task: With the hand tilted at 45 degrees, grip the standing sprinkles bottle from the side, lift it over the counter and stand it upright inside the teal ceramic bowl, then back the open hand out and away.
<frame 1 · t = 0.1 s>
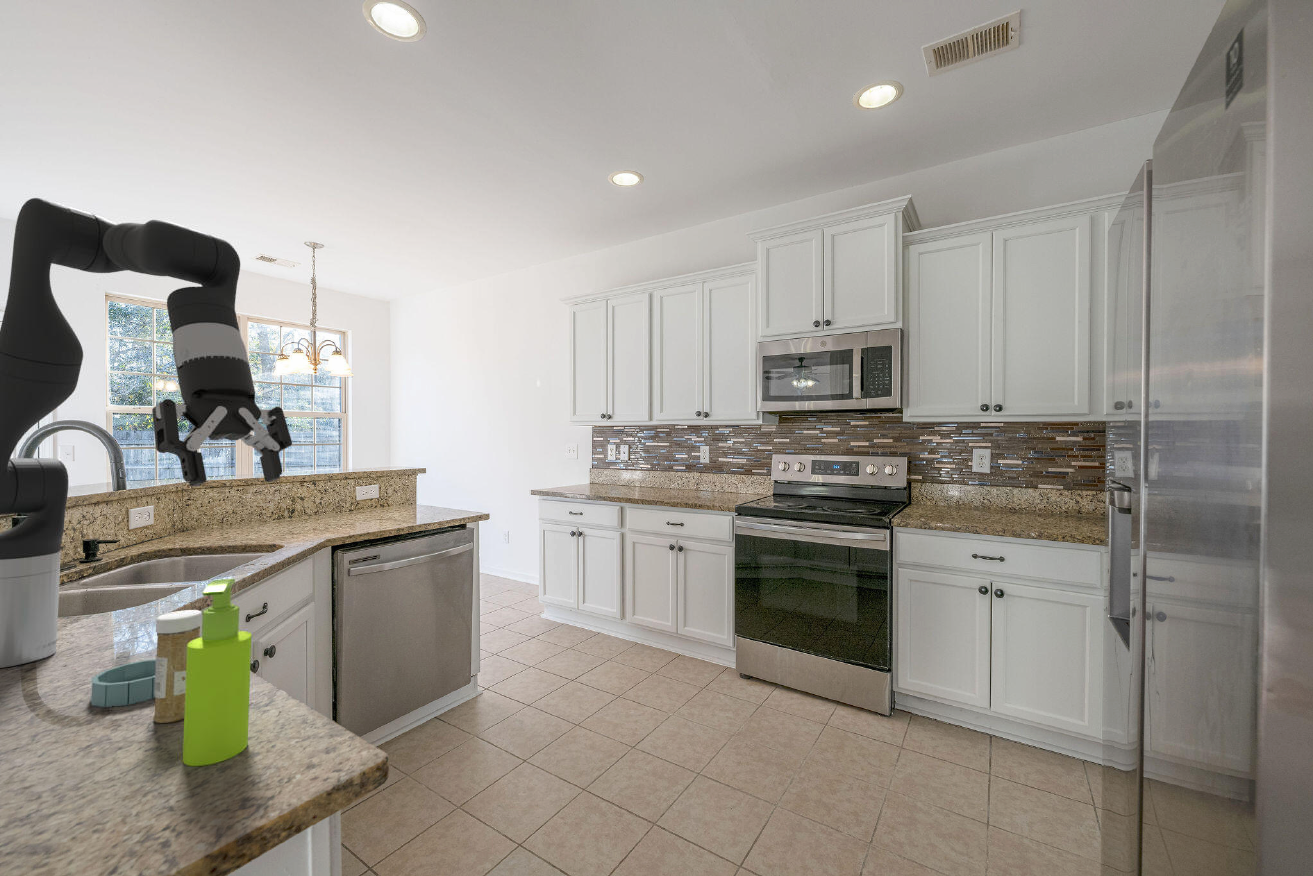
hand: (237, 482, 68), 31 cm above the countertop, tool tilted 20°, fingers open, 8 cm apart
soap dispenser: (214, 755, 62), on the countertop
teal bowl: (137, 691, 78), on the countertop
sprinkles bottle: (175, 717, 71), on the countertop
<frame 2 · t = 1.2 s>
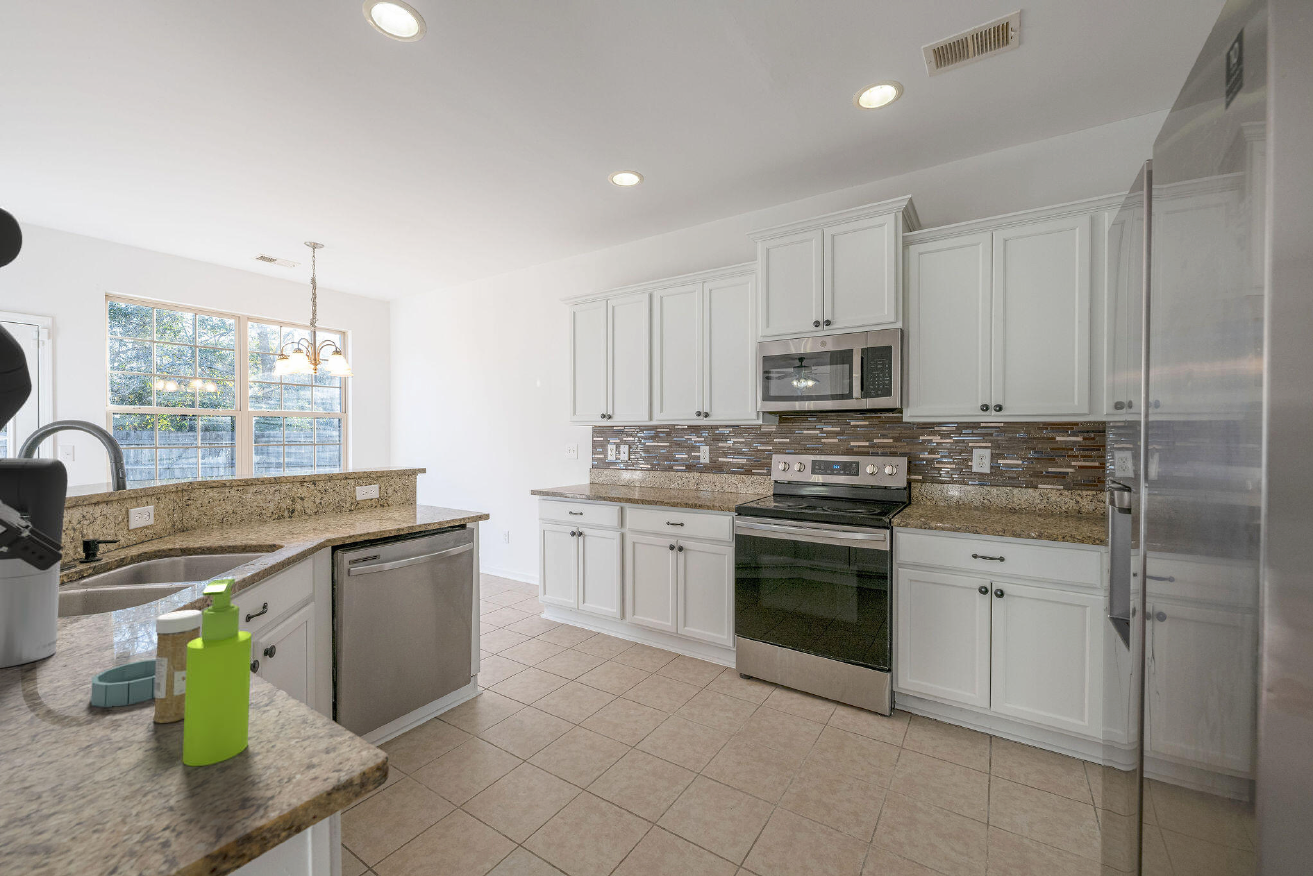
hand: (54, 558, 63), 22 cm above the countertop, tool tilted 45°, fingers open, 8 cm apart
nothing on the countertop moved.
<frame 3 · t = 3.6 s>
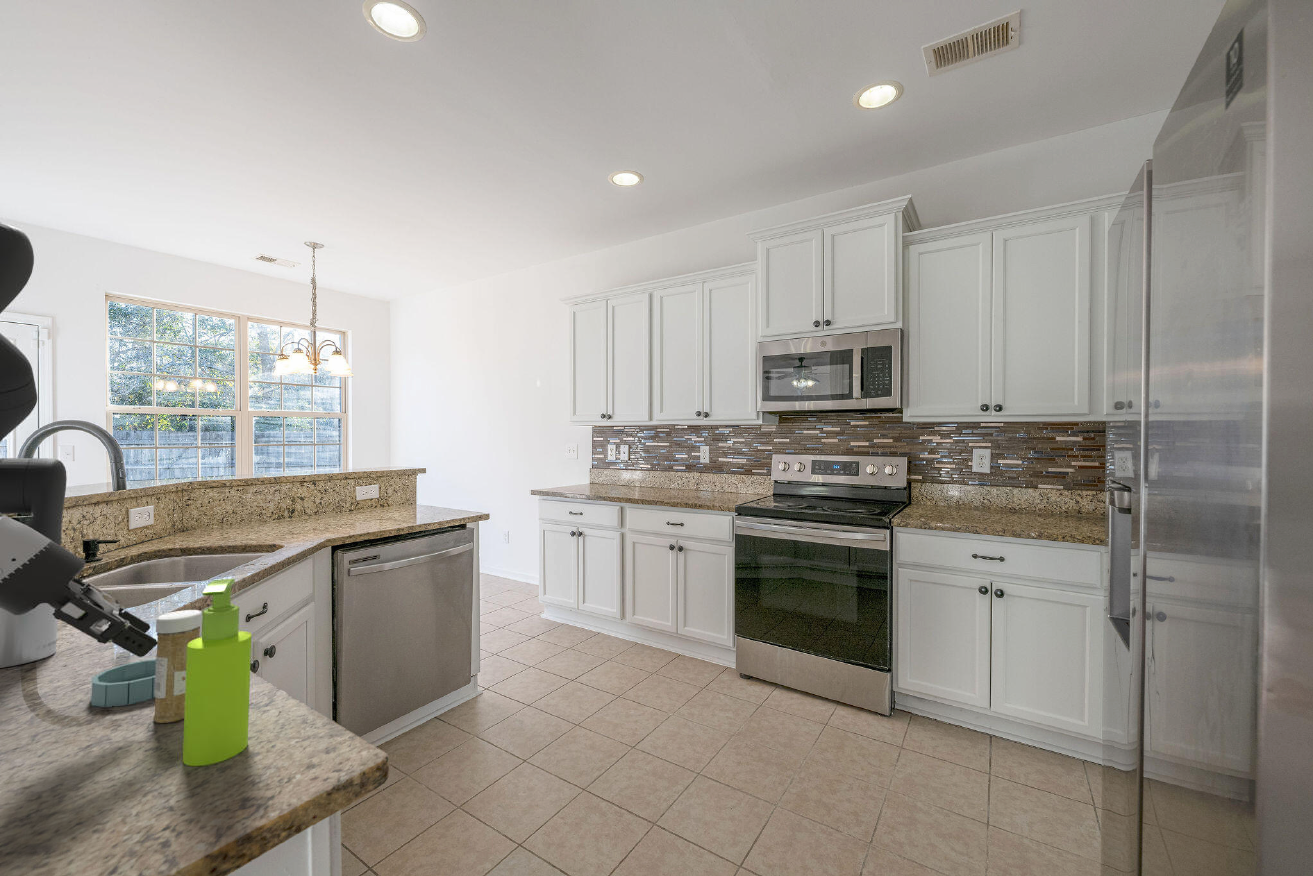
hand: (146, 641, 69), 11 cm above the countertop, tool tilted 45°, fingers open, 8 cm apart
nothing on the countertop moved.
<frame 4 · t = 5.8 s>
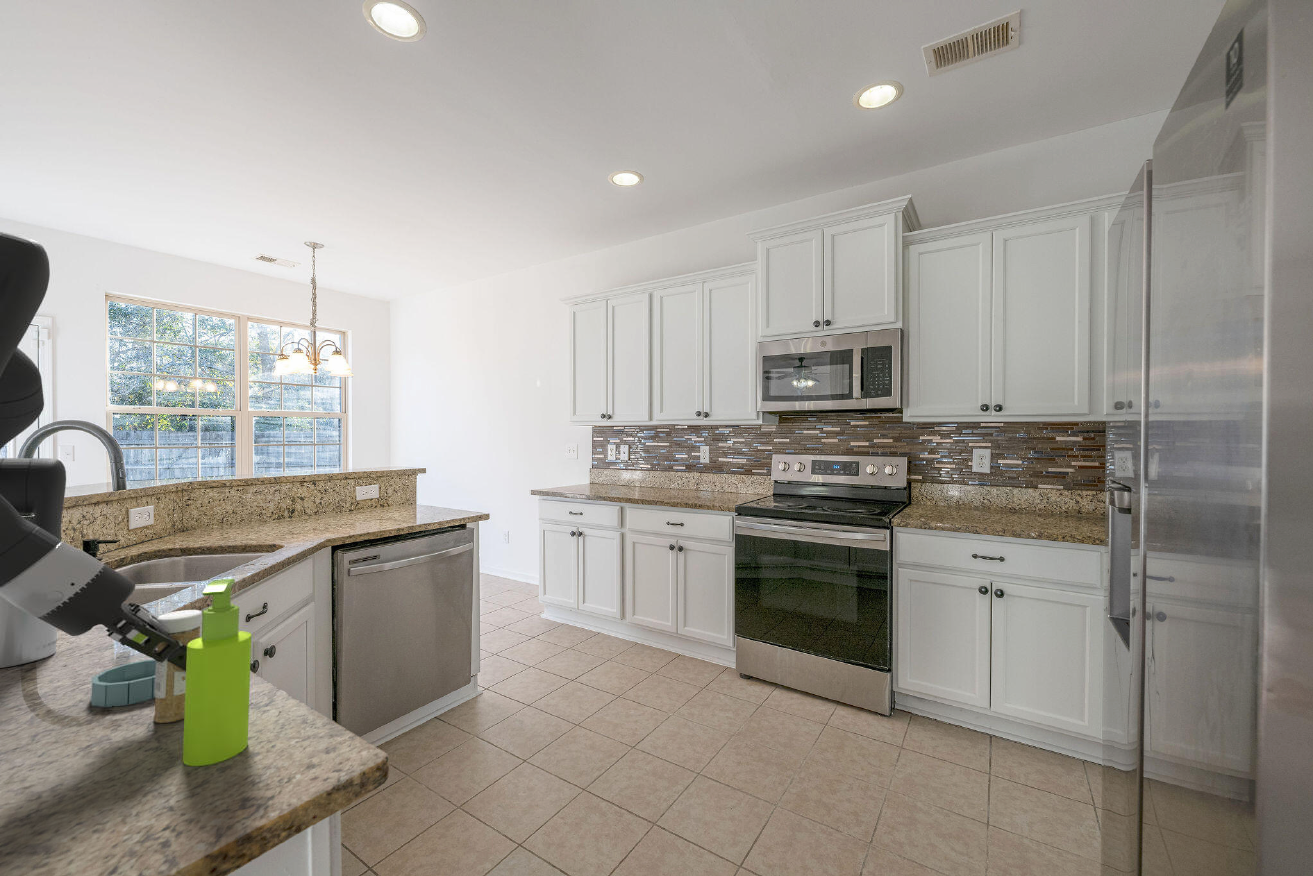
hand: (196, 661, 72), 7 cm above the countertop, tool tilted 45°, fingers closed on sprinkles bottle, 4 cm apart
sprinkles bottle: (175, 717, 71), on the countertop, touching gripper
everything else where it was.
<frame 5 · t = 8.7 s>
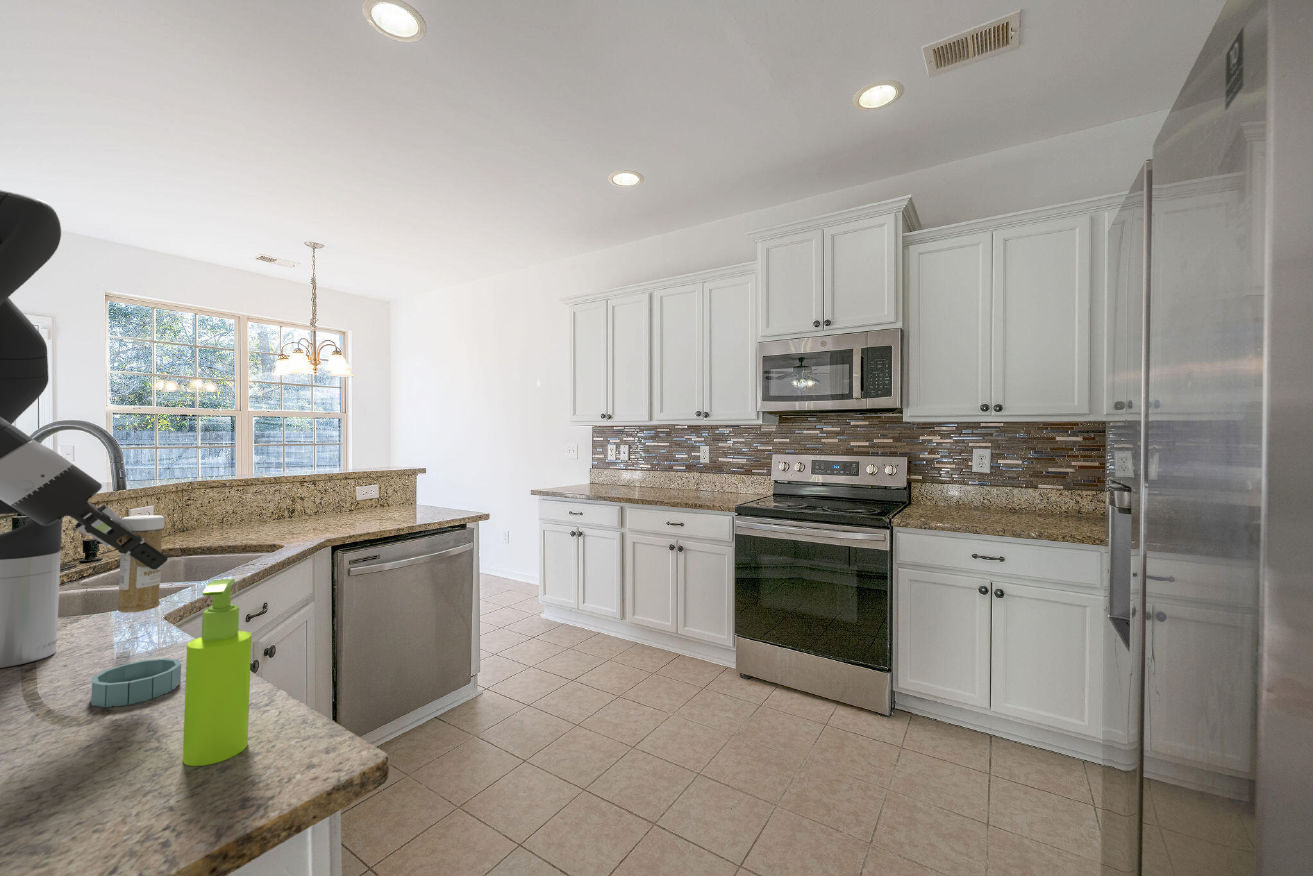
hand: (159, 561, 79), 19 cm above the countertop, tool tilted 45°, fingers closed on sprinkles bottle, 4 cm apart
sprinkles bottle: (138, 610, 78), point 12 cm above the countertop, touching gripper
everything else where it was.
when the fingers open (9 cm above the countertop, at t = 11.7 s): sprinkles bottle drops 1 cm, resting on teal bowl.
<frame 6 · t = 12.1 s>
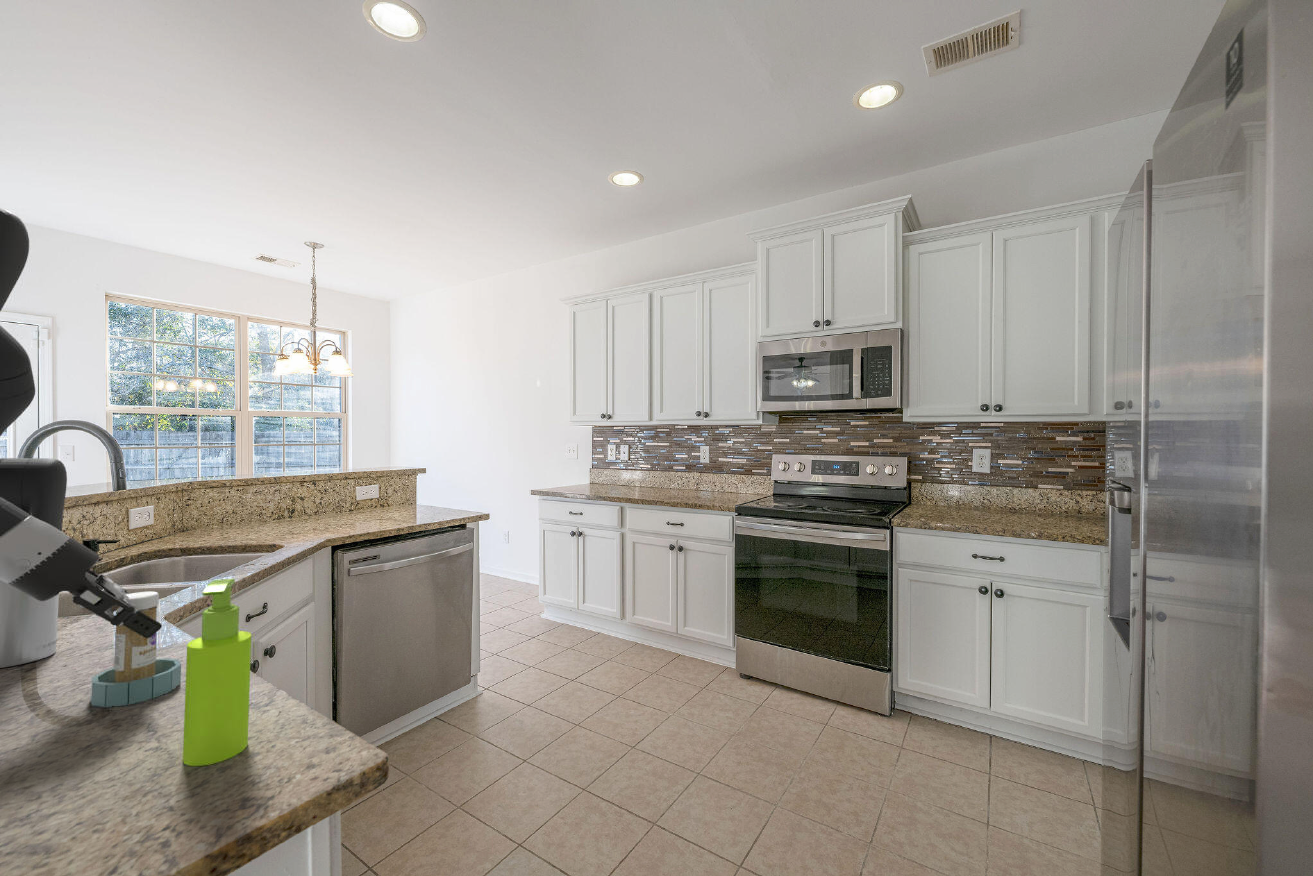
hand: (152, 625, 79), 9 cm above the countertop, tool tilted 45°, fingers open, 8 cm apart
sprinkles bottle: (134, 689, 77), resting on teal bowl
everything else where it was.
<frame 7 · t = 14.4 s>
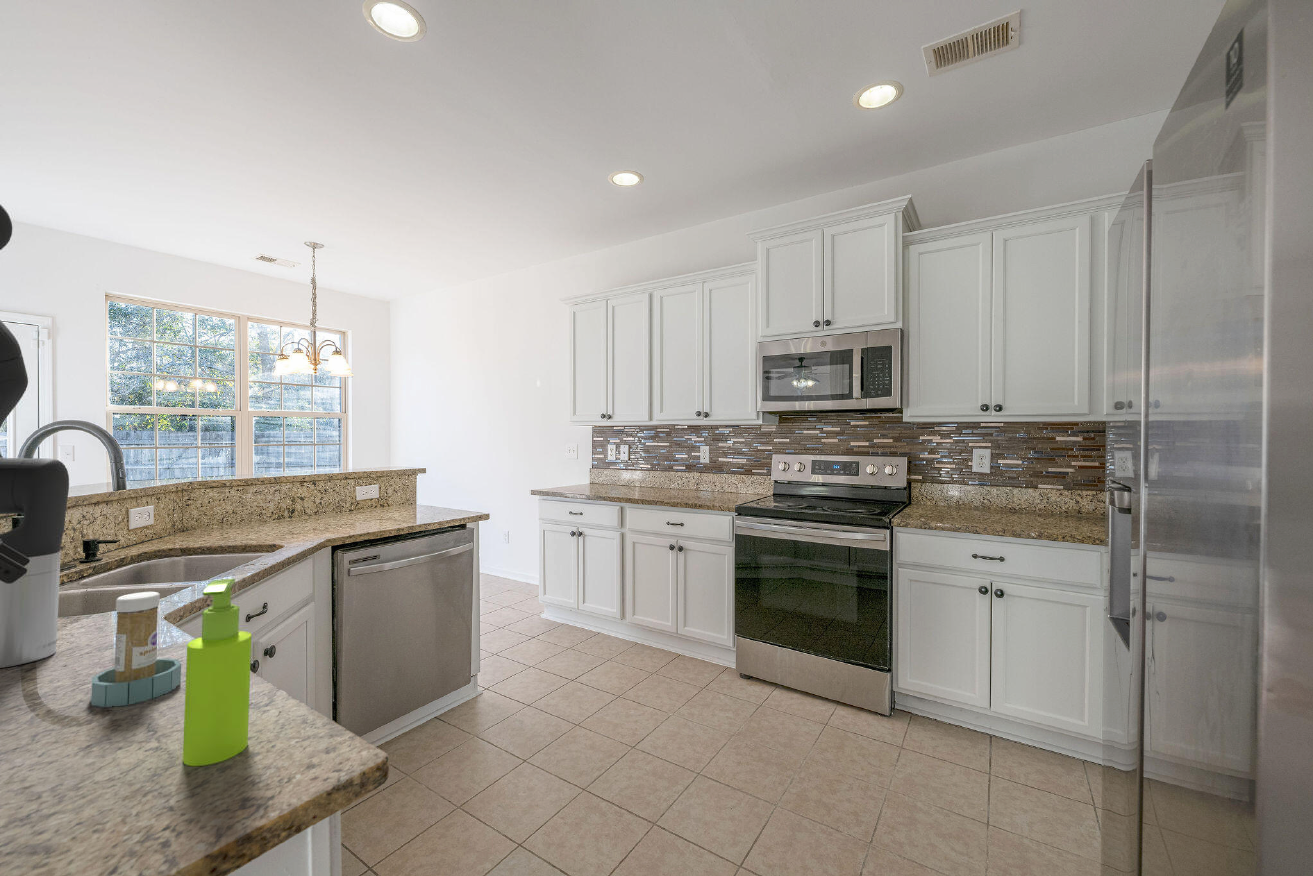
hand: (21, 572, 70), 19 cm above the countertop, tool tilted 45°, fingers open, 8 cm apart
nothing on the countertop moved.
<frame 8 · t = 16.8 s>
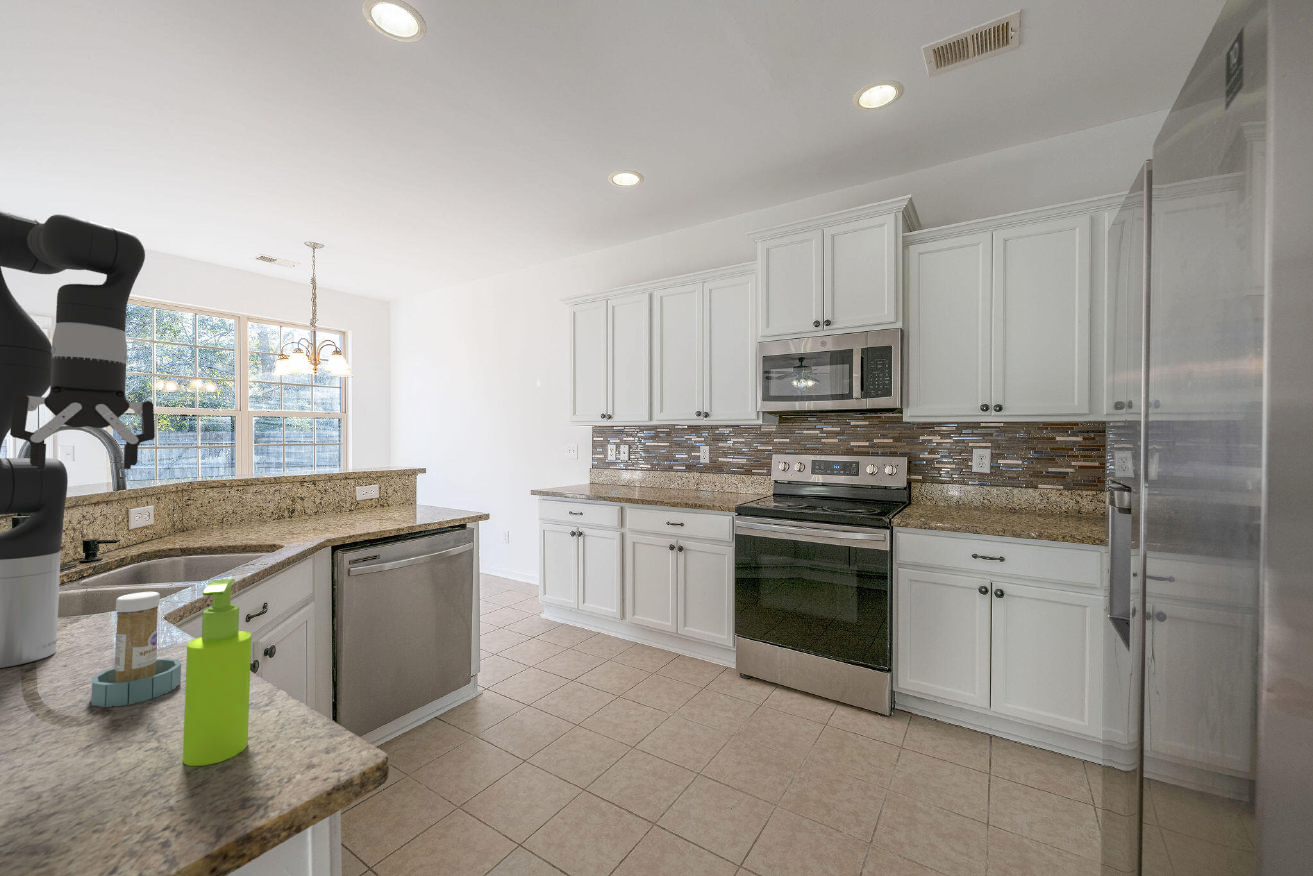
hand: (85, 469, 78), 32 cm above the countertop, tool pointing down, fingers open, 8 cm apart
nothing on the countertop moved.
at the end: sprinkles bottle 0.3 cm off-centre on the teal bowl, point 0.4 cm above the teal bowl's base; sprinkles bottle tilted 0°; the gripper is holding nothing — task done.
